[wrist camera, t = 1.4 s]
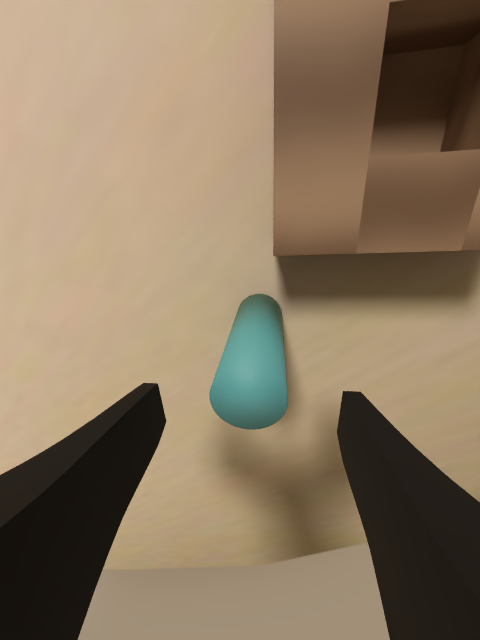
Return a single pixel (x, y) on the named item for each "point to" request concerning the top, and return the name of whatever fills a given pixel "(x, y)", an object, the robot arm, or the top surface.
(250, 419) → the peg
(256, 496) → the top surface
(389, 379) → the top surface
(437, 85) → the socket block
